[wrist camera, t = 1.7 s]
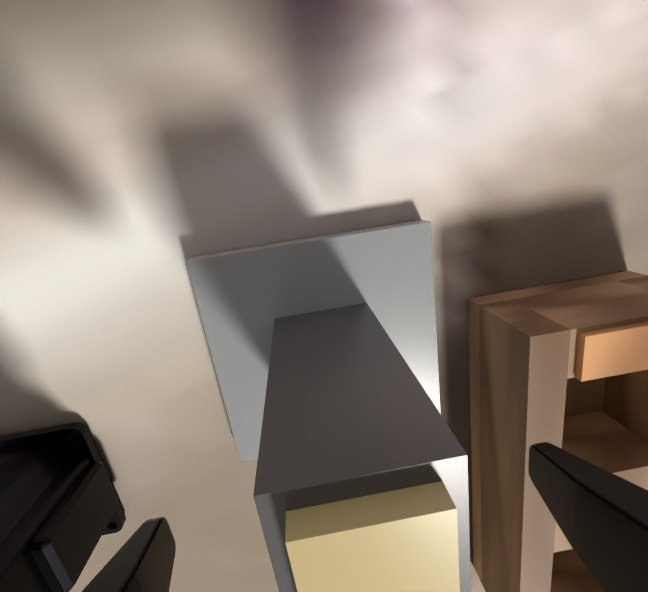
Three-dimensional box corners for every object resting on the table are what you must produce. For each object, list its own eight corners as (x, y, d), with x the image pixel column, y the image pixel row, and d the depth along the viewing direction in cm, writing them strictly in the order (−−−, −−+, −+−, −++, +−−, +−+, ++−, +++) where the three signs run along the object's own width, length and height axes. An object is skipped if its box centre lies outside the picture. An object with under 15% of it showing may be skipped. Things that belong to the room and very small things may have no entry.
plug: (291, 398, 16) (291, 674, 7) (274, 318, 15) (249, 526, 6) (376, 382, 16) (485, 632, 7) (366, 302, 15) (484, 480, 6)
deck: (243, 447, 18) (240, 462, 17) (192, 256, 15) (185, 261, 14) (433, 412, 18) (441, 424, 17) (421, 219, 15) (431, 221, 14)
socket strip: (473, 565, 22) (521, 664, 17) (468, 298, 16) (536, 340, 12) (598, 539, 22) (677, 630, 18) (634, 269, 17) (761, 300, 12)
